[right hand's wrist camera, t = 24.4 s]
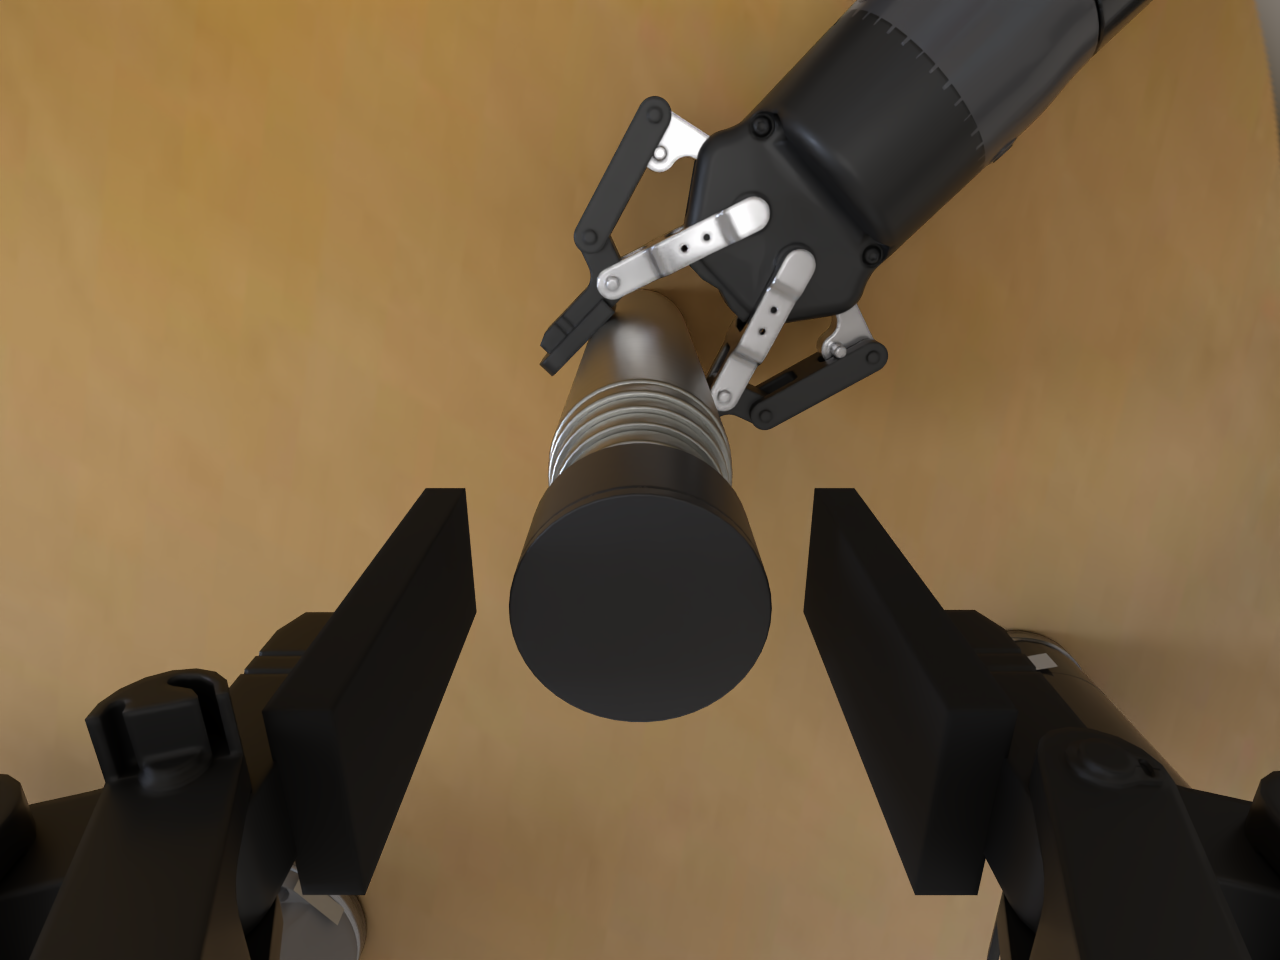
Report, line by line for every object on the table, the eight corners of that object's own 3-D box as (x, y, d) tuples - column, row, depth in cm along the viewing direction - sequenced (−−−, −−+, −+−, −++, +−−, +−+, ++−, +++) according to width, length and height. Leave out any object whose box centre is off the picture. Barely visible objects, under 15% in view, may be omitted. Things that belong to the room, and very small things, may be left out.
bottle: (634, 268, 35) (623, 412, 12) (707, 332, 36) (830, 581, 13) (573, 343, 37) (452, 608, 13) (645, 402, 38) (654, 746, 14)
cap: (695, 404, 14) (707, 449, 11) (783, 591, 15) (810, 668, 13) (490, 497, 14) (459, 559, 12) (592, 668, 16) (582, 755, 13)
